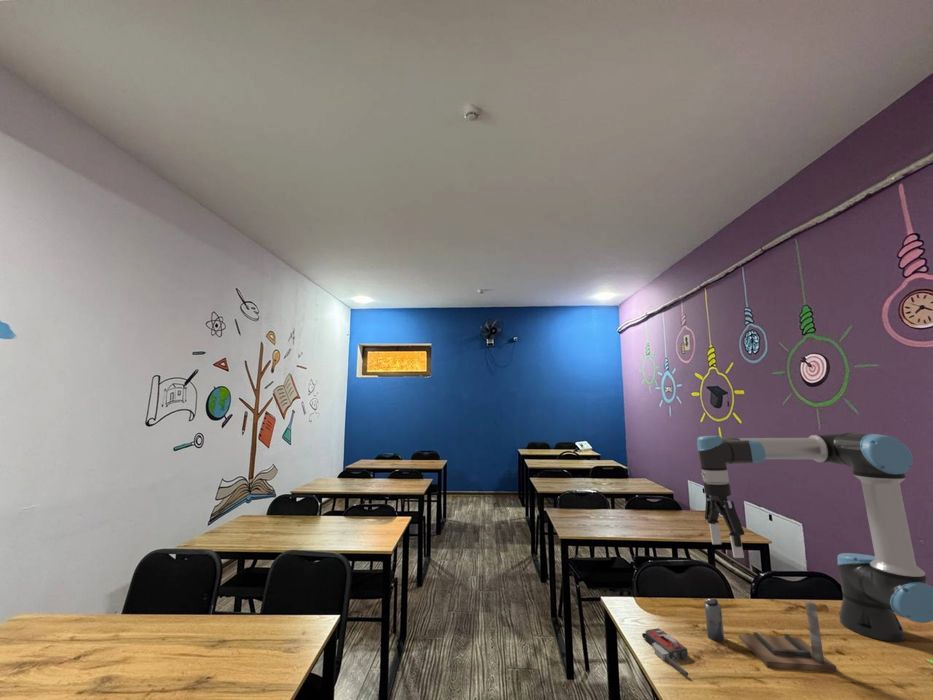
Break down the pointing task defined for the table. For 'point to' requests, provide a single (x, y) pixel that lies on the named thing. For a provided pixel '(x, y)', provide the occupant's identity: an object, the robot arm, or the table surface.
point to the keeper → (792, 646)
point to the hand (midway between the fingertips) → (727, 550)
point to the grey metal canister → (714, 620)
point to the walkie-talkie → (666, 647)
